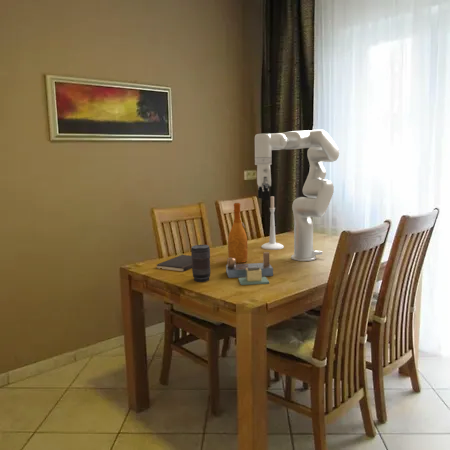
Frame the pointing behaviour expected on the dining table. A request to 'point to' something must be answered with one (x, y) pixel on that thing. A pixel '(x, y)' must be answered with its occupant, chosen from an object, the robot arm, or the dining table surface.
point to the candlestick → (272, 231)
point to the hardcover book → (177, 263)
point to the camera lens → (200, 262)
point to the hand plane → (240, 269)
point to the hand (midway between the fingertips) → (263, 199)
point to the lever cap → (253, 274)
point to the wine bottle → (237, 238)
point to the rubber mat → (245, 282)
